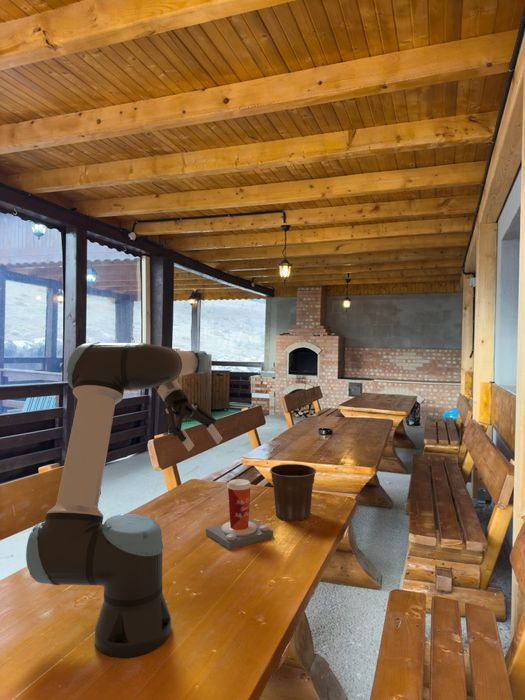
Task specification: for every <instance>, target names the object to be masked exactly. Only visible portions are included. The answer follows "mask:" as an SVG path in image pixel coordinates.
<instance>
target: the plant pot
mask: <svg viewBox="0 0 525 700" xmlns="http://www.w3.org/2000/svg"><path fill="white" fill-rule="evenodd" d="M269 473H270V474H271V482H272V485H273V496H274V505H275V516H276V517H277V518H280V519H281V520H282V521H283V520H284V521H287V520H288V521H289V522H299V521H303V520H307V519H309V518H310V517H311V511H312V510H311V508H312V499H313V498H312V497H313V488H314V487H313V486H314V483H315V477H316V476H315V475H316V473H317V469H316V468H314V467H312V466H309V465H306V464H300V463H299V464H298V463H297V464H296V463H287V464H286V463H283V464H278V465H274V466H272V467H271V468H270V469H269ZM288 521H287V522H288Z"/></svg>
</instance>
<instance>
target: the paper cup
mask: <svg viewBox="0 0 525 700" xmlns="http://www.w3.org/2000/svg"><path fill="white" fill-rule="evenodd" d="M251 487H252V484H251V481H249V480H248V479H242V478H240V479H239V478H236V479H232V480H231V479H230V480H229V481H228V483H227V485H226V488H227V492H228V493H227V494H228V508H229V509H228V510H229V511H228V513H229V522H230V526H231V528H232V529H235V530H243V529H246V528H248V522H249V518H250V505H251V504H250V501H251Z"/></svg>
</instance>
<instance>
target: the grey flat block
mask: <svg viewBox="0 0 525 700" xmlns="http://www.w3.org/2000/svg"><path fill="white" fill-rule="evenodd" d="M205 535H206V536H208V537H209V538H210V539H212V540H214V541H215V542H216V543H218V544H219V545H221V546H222V547H225V549H227V550H229V551H231V550H234V549H237V548H240V547H244V546H247V545H250V544H254V543H256V542H261V541H264V540H267V539H271V538H274V530H273V529H271V528H270V525H267V524H261V523H260V522H258V521H255V520H254V519H252V518H250V517H249V522H248V528H246V529H243V530H235V529H232V528H231V526H230V521H227V522H226V523H222V524H221V523H220V524H216V525H213V526H209V527H206V528H205Z"/></svg>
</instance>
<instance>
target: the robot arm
mask: <svg viewBox="0 0 525 700" xmlns="http://www.w3.org/2000/svg"><path fill="white" fill-rule="evenodd" d="M208 359H209V357H208V354H207V351H205V350H175V349H173V348H171V347H168V346H163V345H162V346H161V345H156V344H150V343H146V342H145V343H144V342H100V341H98V342H97V341H95V342H91V343H82V344H80V345H79V346H76V348H75V349H73V351H72V353H71V354H70V356H69V359H68V362H67V365H66V373H67V376H66V381H67V383H68V386H69V387H70V388H71V389H72V394H73V396H74V397H75V398H76V400H77V402H76V407H75V412H74V417H73V420H72V426H71V431H70V436H69V440H68V446H67V449H66V450H67V451H66V454H65V460H64V465H63V468H62V474H61V479H60V484H59V488H58V494H57V496H56V497H57V499H56V503H55V505H54V506H53V507H51V508H50V509H49V510H48V511H46V515H45V519H44V521H43V522H39V523H37V524H36V525H34V526H33V529H31V530H32V531H31V532H30V534H29V536H28V539H27V544H26V547H25V548H26V550H25V558H26V559H25V561H26V566H27V570H28V572H29V575H30V577H31V578H32V579H33V580H34V581H35V582H37V583H38V584H39V583H40V584H49V585H50V584H51V585H52V586H60V585H63V586H64V585H68V586H70V585H72V586H102V587H103V603H102V605H101V609H100V612H99V615H98V618H97V622H96V624H95V628H94V643H95V646H96V649H98V650H99V651H100V652H101V653H103V654H104V655H106V656H111V657H113V658H114V657H115V658H132V657H137V656H142V655H144V654H147V653H149V652H152V651H154V650H156V649H158V648H159V647H161V645H163V644H165V642H166V641H167V640H168V638H169V637H170V636H171V632H172V617H171V614H170V611H169V608H168V605H167V602H166V599H165V596H164V593H163V549H164V543H163V538H162V537H163V536H162V533H163V532H162V528H161V526H160V524H159V522H157V521H156V520H155V519H154V518H152V517H149V516H146V515H143V514H137V513H136V514H135V513H124V514H117V515H113V516H111V517H108V518H106V520H105V521H104V515H103V513H102V512H101V511H100V510H99V502H100V497H101V490H102V485H103V479H104V472H105V466H106V461H107V455H108V449H109V445H110V444H109V443H110V439H111V432H112V426H113V419H114V413H115V407H116V405H117V404H119V403H120V402H121V401H123V399H124V394H125V391H128V390H129V391H136V390H137V391H139V390H147V389H151V388H154V389H155V390H156V392H157V393H158V395H159V396H160V398H161V399H162V401H163V402H164V404H165V406H166V408H165V410H164V411H163V413H164V414H165V416H166V423H167V429H168V434H170V435H172V436H173V437H176V436H177V438H178V439H179V441H180V442H181V443H182V445H183V446H184V447H185V448H186V450H187V451H188V452H190V451H191V450H193V448H194V447H195V444H194V443H193V440H191V438H190V437H189V435H188V434H187V432H186V430H185V429H183V428H182V424H183V420H184V419H191V420H195V421H196V422H198V423H200V424H201V425H203V426H205V427H206V430H207V431H208V433H209V434H210V436H211V437H212V439H213V440H214V441H215V444H217V445H219V444H220V443H221V442H222V440H223V437H222V435H221V434H220V432H219V430H218V429H217V427H216V425H215V423H216V422H217V419H216V418H215V417H213V416H212V415H211V414H210V413H209V412H207V411H206V410H205V409H204V408H202V407H201V406H200V405H199V403H198V402H196V401H195V402H193V404H191V403H190V402H189V397H188V395H187V394H186V392H185V391H184V390H183V389H182V388H183V387H182V386H181V385H180V383H179V382H178V380H177V378H178V377H182V376H187V375H199V374H207V371H208V367H209V360H208ZM103 522H104V523H103Z"/></svg>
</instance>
